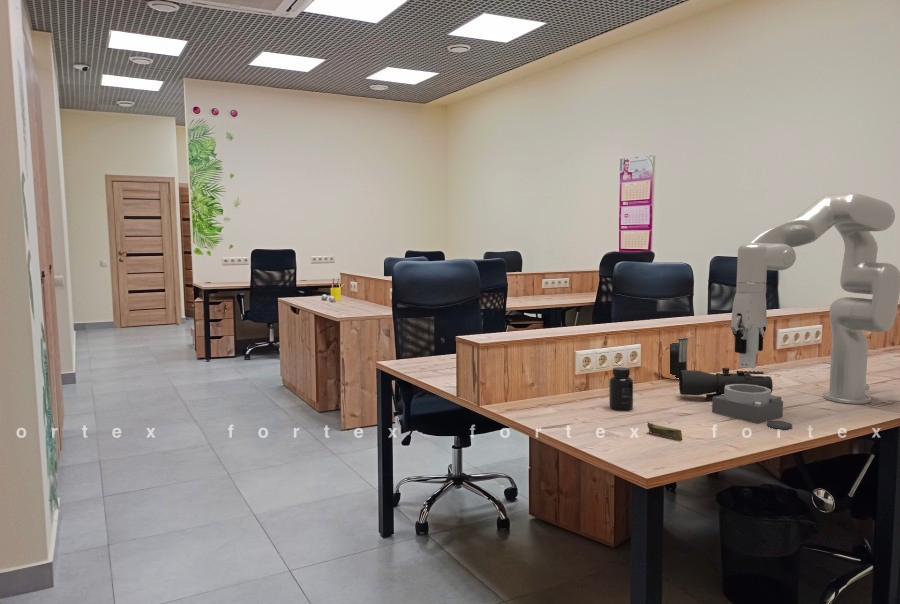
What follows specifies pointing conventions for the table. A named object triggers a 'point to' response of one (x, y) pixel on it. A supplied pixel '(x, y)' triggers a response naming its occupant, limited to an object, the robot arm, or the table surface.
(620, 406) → the supplement bottle
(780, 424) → the lens cap
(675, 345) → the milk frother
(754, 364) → the skincare box
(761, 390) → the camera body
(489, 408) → the table surface
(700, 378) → the rifle scope
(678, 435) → the snack bar
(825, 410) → the table surface
